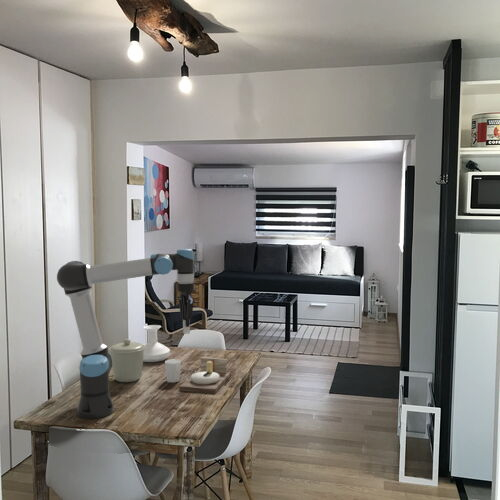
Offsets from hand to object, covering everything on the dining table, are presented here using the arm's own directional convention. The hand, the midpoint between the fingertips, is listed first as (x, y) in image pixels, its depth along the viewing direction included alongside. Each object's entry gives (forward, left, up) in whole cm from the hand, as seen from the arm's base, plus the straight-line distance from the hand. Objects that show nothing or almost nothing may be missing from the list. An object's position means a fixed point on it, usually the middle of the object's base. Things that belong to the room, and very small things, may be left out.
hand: (186, 333), depth 242 cm
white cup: (+3, +24, -30) cm, 38 cm away
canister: (-16, +38, -30) cm, 51 cm away
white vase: (+8, +66, -30) cm, 73 cm away
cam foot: (+14, +10, -27) cm, 32 cm away
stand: (+15, +11, -29) cm, 35 cm away
